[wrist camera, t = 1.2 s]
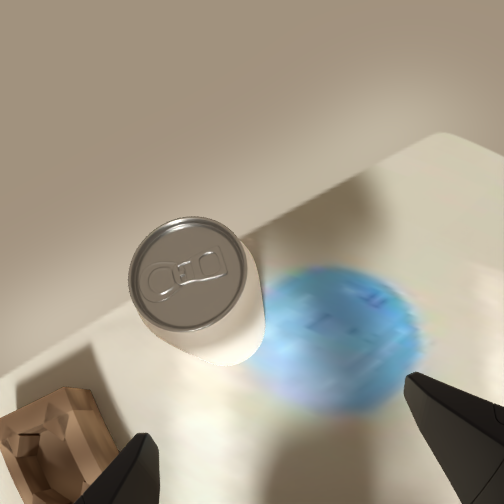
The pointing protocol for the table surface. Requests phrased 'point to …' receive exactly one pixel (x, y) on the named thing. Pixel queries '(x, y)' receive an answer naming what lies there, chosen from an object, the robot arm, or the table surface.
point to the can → (199, 290)
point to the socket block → (56, 446)
